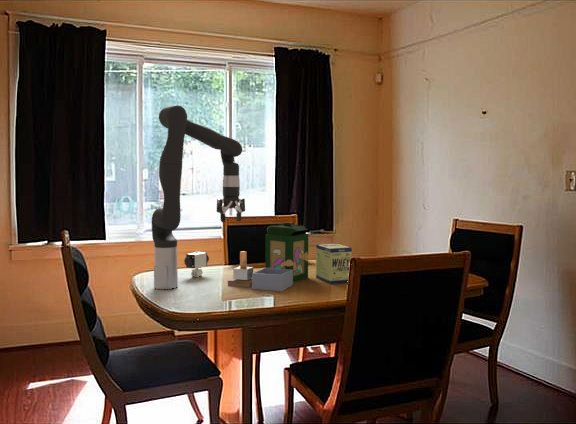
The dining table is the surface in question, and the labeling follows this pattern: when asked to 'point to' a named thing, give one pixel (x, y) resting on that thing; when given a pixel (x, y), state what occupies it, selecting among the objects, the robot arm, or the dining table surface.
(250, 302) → the dining table surface
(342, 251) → the protein box
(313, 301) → the dining table surface
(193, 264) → the pneumatic valve
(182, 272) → the dining table surface
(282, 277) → the bin
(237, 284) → the stud block
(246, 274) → the peg block
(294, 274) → the container
